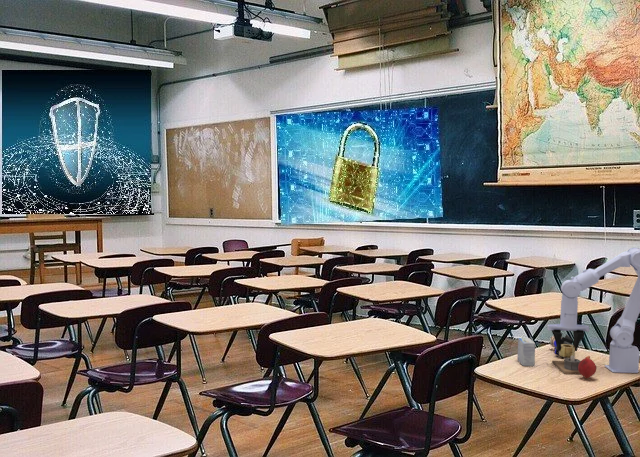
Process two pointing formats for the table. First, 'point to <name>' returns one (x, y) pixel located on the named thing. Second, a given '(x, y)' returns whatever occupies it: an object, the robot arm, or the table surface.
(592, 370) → the onion
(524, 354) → the medicine box
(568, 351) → the golden octagonal nut
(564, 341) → the character figurine
